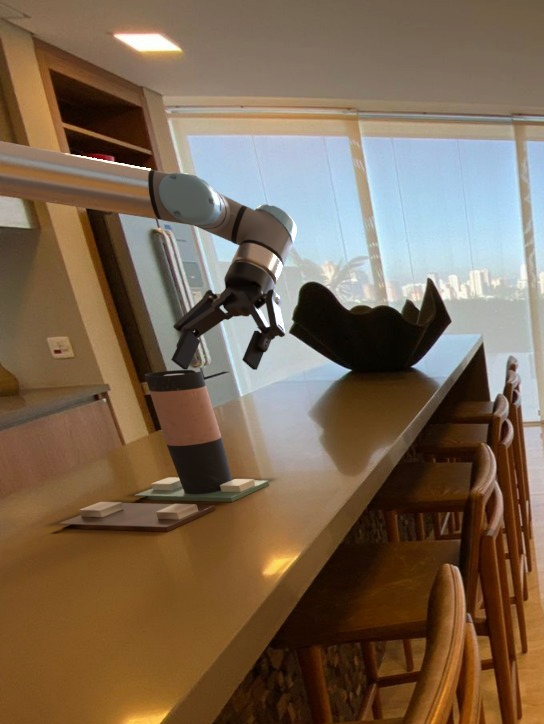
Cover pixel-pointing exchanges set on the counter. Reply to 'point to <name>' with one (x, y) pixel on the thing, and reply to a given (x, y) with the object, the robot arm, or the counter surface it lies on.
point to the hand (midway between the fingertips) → (214, 365)
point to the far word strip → (228, 493)
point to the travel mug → (190, 429)
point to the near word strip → (136, 516)
